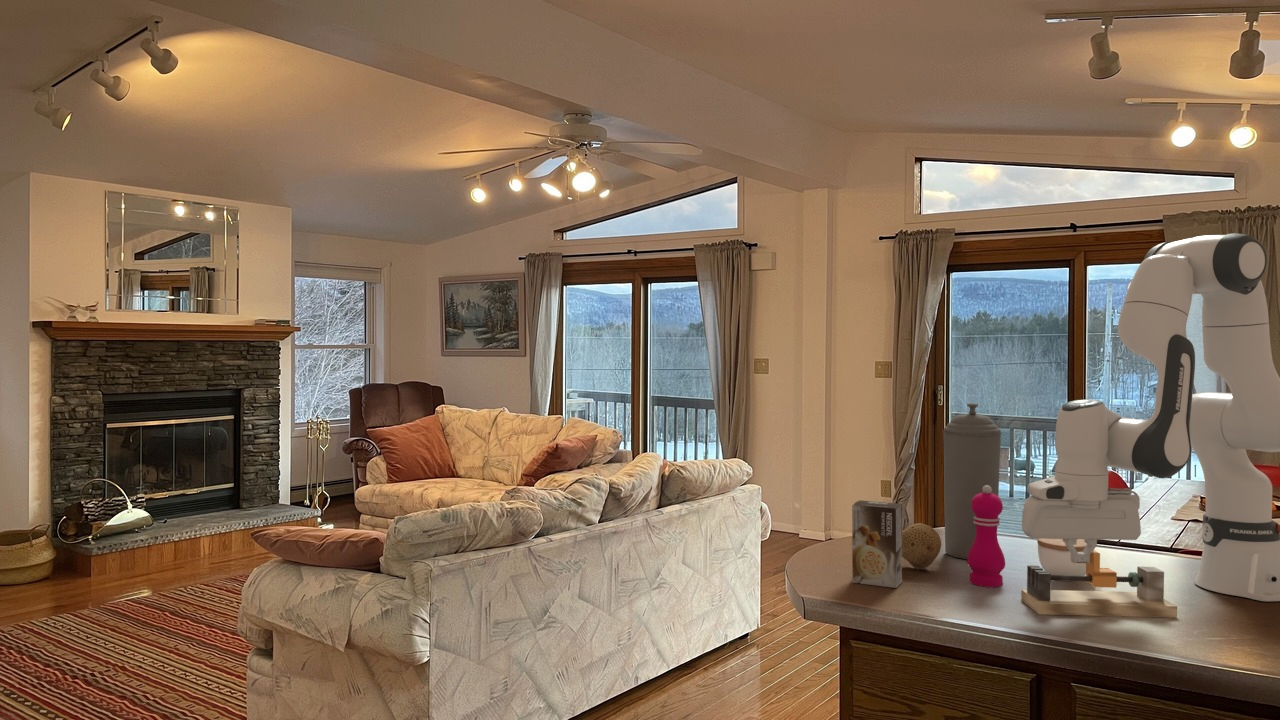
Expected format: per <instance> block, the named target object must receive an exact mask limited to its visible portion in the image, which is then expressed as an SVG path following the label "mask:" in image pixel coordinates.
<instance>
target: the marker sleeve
mask: <svg viewBox="0 0 1280 720" xmlns="http://www.w3.org/2000/svg"><path fill="white" fill-rule="evenodd" d="M1117 573H1118V572H1116V571H1114V570H1113V569H1110V568H1108V567H1101V553H1100V552H1098V551H1096V550H1095V549H1094V550H1093V552H1092V553H1091V554H1090V563H1086V575H1085V576H1092V581H1085V583H1087V584H1091V586H1092V587H1093V588H1115V589H1116V588H1117V583H1118V582H1117V575H1118V574H1117Z"/></svg>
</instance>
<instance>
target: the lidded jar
mask: <svg viewBox="0 0 1280 720" xmlns="http://www.w3.org/2000/svg"><path fill="white" fill-rule="evenodd" d="M1036 540H1037V542H1036V543H1037V553H1038V554H1037V555H1038V559H1039V563H1040V565H1041V566H1040V567H1041V568H1043V570H1046V571H1047V572H1048V573H1050V574H1051V575H1072V576H1086V563H1073V562H1071V552H1070V551H1069V549H1068V548H1067V546H1066V544H1065V543H1064V539H1037V538H1036ZM1086 545H1087V543H1085V542H1084V539H1077V544H1076V545H1074V547H1075V549H1076V551H1077V552H1083V550H1084V548H1085V547H1086Z"/></svg>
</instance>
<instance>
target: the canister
mask: <svg viewBox="0 0 1280 720" xmlns="http://www.w3.org/2000/svg"><path fill="white" fill-rule="evenodd" d="M966 406H967V407H968V408H969V412H968V414H967V413H964V414H958V415H957V414H956V415H955V416H954V417H953V418H952V419H950V422H948V423H947V424H946V426H944V428H943V430H942V433H943V435H942V436H943V440H942V441H943V442H942V443H943V499H944V500H943V501H944V502H943V503H944V504H943V505H944V510H943V511H944V548H945V550H944V551H945V553H946V554H947V555H949V556H950V557H954V558H957V559H963V560H967V558H968V554H969V551H970V549H971V547H972V545H973V543H974V540H975V537H976V524H975V523H974V516H976V515H975V513H974V512H973V510H972V508H971V502H972V499H973V497H974V496H975V495H977V494H979V493H984V492H983V490H982V488H983V487H984V486H985V485H988V486H990V487H991V489H992V491H991V493H992V494H995V495H997V496H998V497H999V493H1000V492H999V490H1000V470H1001V469H1000V468H1001V464H1000V463H1001V441H1002V439H1001V437H1002V435H1003V434H1002V432H1001V429H1000V428H999V427H998V426H997V424H996V423H994V421H993V419H991V418H990V417H989V416H988V415H985V414H983V415H982V414H977V412H976V408H978V407H979V404H978V403H973V402H972V403H971V402H970V403H967V404H966Z"/></svg>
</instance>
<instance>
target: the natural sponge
mask: <svg viewBox="0 0 1280 720" xmlns="http://www.w3.org/2000/svg"><path fill="white" fill-rule="evenodd" d="M941 548H942V540H941V536H940V535H939V533H938V532H937V531H936V530H935V529H934V528H933V527H932V526H930V525H927V524H925V523H921V522H919V523H912V524H910V525H909V526H907V527H906V528H905V529H904V530H902V559H903V558H904V560H906V561H907V562H908V563H909V564H910V565H911V566H912V567H913V568H915V569H916V570H925V569H927V568H928V567H929V566H931V565H932V564H933V562H934V561H935V560H936V559H937V557H938V556H939V554H940V551H941Z"/></svg>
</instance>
